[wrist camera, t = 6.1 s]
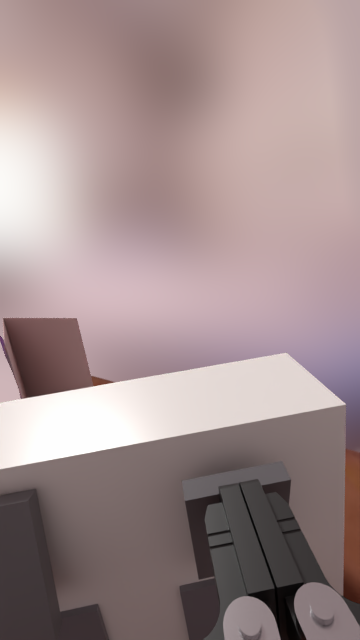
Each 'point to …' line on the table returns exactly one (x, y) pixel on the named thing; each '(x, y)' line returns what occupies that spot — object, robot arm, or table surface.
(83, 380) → the greeting card
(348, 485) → the table surface
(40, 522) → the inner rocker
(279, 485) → the outer rocker
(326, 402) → the white switch box
